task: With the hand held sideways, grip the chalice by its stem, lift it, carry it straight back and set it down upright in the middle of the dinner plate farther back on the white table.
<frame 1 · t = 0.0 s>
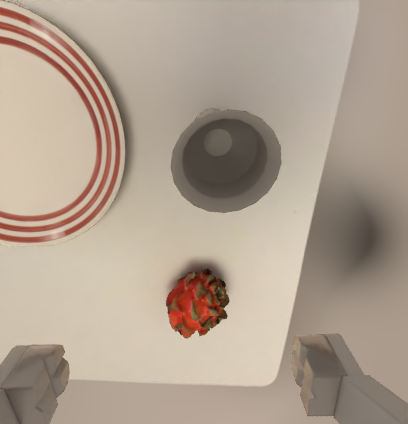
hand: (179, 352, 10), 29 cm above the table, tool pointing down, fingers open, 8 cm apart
chalice: (213, 130, 36), on the table
dragon fruit: (196, 289, 45), on the table
dinner plate: (19, 136, 36), on the table
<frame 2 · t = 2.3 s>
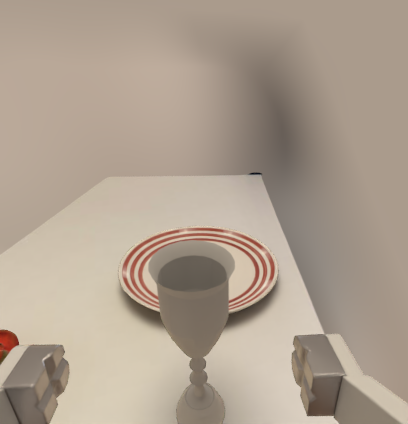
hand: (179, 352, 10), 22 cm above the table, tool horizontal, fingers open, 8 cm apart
chalice: (200, 411, 30), on the table
dinner plate: (199, 274, 52), on the table
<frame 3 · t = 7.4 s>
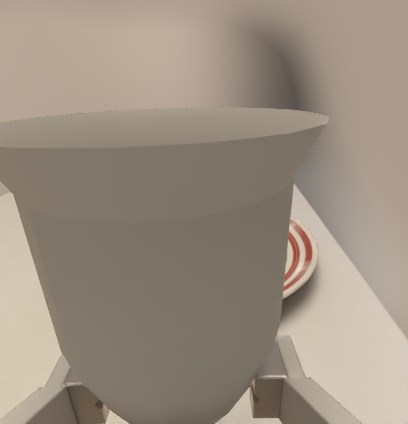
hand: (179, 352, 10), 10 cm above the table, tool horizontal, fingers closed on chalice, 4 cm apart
dinner plate: (196, 256, 35), on the table
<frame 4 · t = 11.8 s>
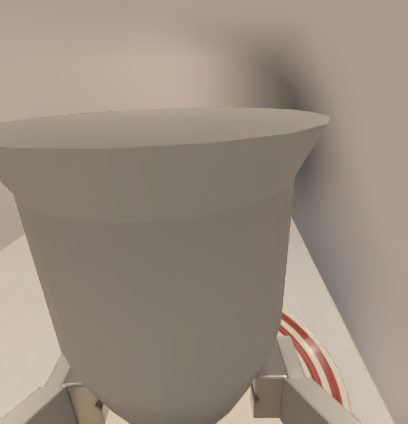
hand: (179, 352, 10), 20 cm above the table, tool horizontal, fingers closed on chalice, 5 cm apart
dinner plate: (200, 392, 30), on the table
when the fingers open (13 cm above the table, at t = 16.6 s): chalice stays where it is, resting on dinner plate.
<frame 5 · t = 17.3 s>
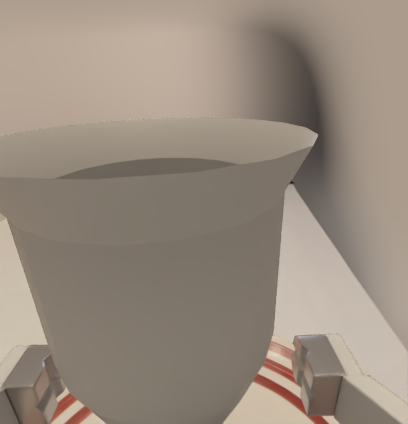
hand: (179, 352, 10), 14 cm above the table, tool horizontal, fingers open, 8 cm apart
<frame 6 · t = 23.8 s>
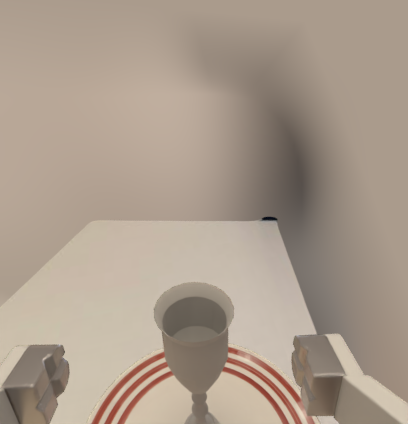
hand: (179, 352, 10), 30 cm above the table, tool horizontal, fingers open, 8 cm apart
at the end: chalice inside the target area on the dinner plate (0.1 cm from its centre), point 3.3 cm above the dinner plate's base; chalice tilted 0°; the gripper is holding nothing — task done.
